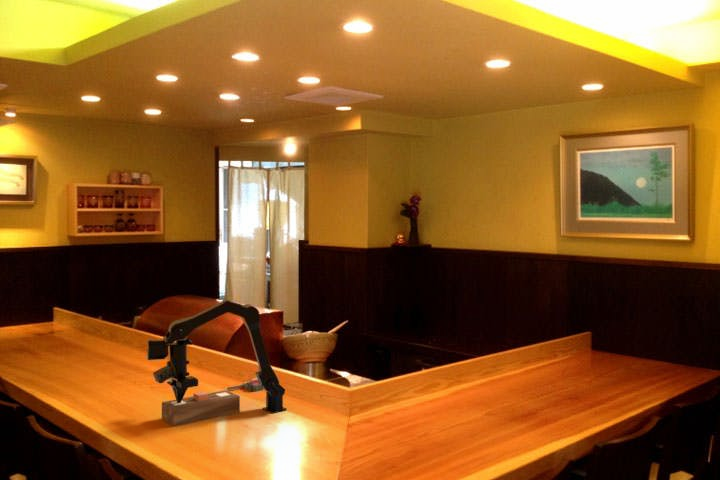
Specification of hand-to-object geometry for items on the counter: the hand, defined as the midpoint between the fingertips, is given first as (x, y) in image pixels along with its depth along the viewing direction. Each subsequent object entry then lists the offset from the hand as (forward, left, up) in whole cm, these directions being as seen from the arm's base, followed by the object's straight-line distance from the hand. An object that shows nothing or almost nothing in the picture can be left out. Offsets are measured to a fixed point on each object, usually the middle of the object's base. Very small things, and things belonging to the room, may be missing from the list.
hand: (178, 402), depth 241 cm
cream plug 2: (0, -17, -6) cm, 18 cm away
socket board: (0, -8, -6) cm, 10 cm away
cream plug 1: (0, 0, -6) cm, 6 cm away
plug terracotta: (0, -8, -4) cm, 9 cm away
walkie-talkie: (+20, -41, -7) cm, 46 cm away
